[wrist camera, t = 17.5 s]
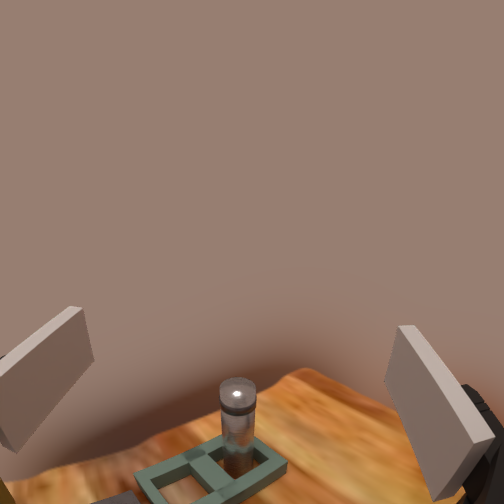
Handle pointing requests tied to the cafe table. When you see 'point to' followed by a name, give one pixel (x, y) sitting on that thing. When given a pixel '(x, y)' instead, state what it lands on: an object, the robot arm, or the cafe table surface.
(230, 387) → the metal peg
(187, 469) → the frame
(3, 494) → the flower pot
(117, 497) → the socket block
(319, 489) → the cafe table surface
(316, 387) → the cafe table surface
